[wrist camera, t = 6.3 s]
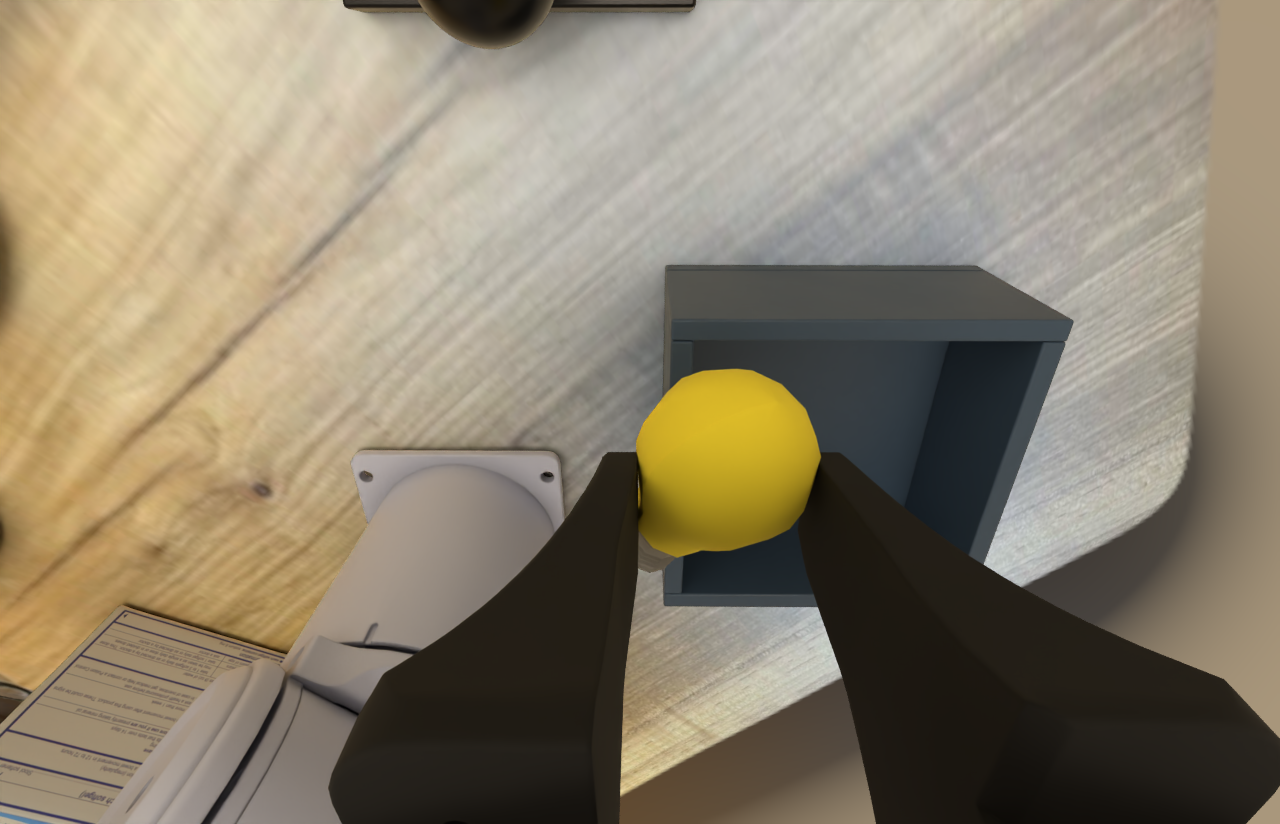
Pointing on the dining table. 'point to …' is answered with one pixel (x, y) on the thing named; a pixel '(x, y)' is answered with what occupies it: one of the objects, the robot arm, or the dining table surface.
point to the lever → (488, 20)
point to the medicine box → (107, 714)
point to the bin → (870, 393)
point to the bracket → (562, 3)
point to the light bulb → (721, 466)
